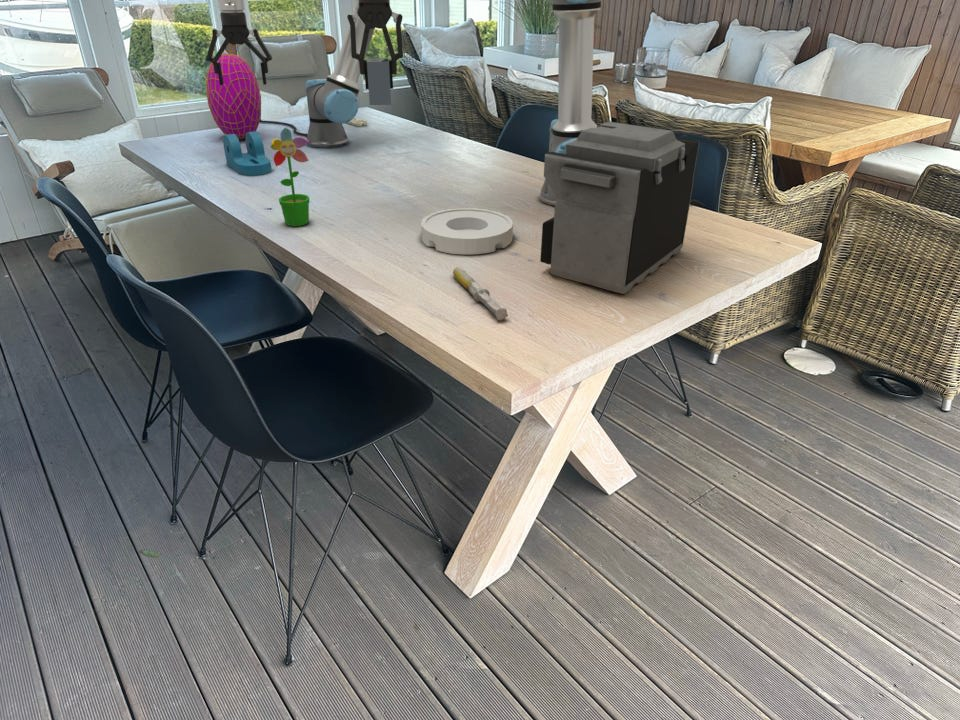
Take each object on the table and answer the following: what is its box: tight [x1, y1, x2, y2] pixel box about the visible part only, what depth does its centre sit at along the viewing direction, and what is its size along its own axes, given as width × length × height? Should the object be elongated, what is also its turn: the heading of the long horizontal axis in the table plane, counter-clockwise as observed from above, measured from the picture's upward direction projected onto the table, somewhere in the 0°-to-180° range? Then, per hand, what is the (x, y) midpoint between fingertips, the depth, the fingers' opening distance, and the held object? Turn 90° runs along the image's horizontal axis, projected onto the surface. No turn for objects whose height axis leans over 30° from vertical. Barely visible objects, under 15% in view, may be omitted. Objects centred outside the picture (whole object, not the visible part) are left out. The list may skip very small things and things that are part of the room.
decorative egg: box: [205, 53, 262, 141], centre depth 258 cm, size 19×19×30 cm
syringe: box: [452, 266, 509, 321], centre depth 145 cm, size 25×4×3 cm, turn 21°
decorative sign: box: [346, 117, 368, 127], centre depth 295 cm, size 26×1×10 cm
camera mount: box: [222, 130, 272, 176], centre depth 226 cm, size 18×10×10 cm, turn 35°
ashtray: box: [420, 207, 514, 256], centre depth 174 cm, size 23×23×4 cm
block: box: [366, 57, 392, 106], centre depth 176 cm, size 7×6×10 cm
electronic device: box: [539, 121, 701, 295], centre depth 154 cm, size 37×22×30 cm, turn 144°
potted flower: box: [270, 127, 310, 227], centre depth 177 cm, size 9×8×25 cm
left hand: (243, 84), depth 224 cm, fingers open, 13 cm apart
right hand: (379, 87), depth 177 cm, fingers closed on block, 5 cm apart
